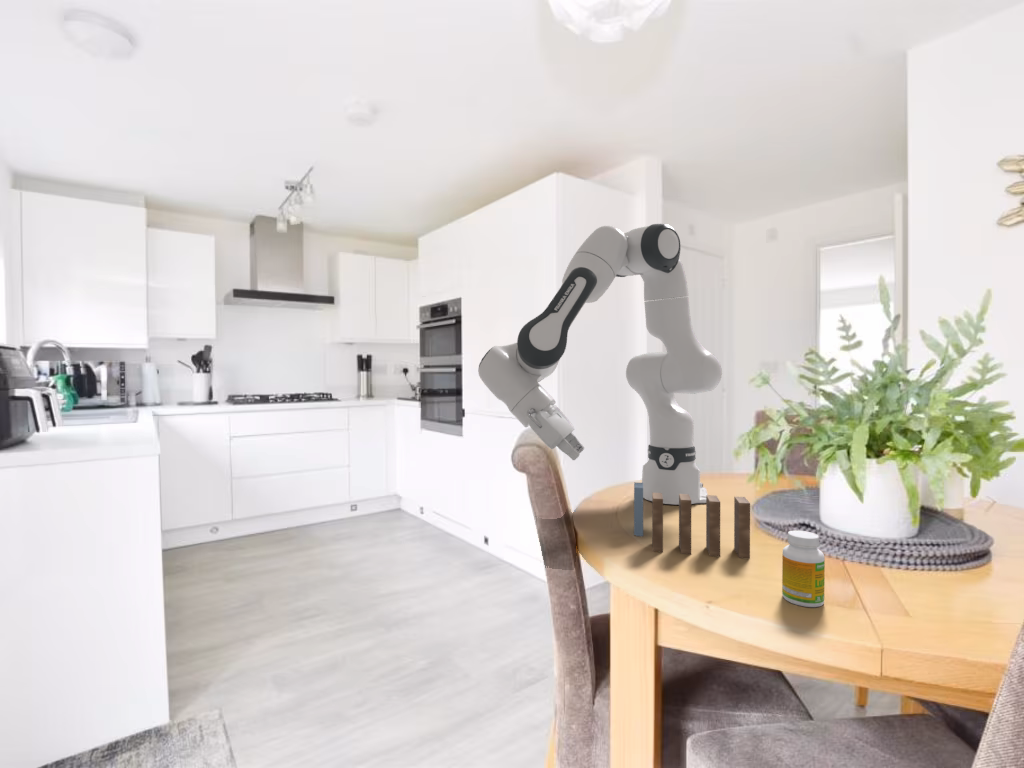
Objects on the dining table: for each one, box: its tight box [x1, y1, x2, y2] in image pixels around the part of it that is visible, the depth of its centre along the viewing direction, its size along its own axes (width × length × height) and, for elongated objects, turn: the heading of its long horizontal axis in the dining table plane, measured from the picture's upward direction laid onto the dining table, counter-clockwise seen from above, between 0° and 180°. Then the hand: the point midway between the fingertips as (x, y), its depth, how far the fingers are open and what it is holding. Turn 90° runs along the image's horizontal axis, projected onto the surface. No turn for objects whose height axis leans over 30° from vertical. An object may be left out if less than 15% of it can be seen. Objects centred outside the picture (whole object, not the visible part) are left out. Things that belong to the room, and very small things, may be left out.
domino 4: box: [705, 494, 721, 557], centre depth 97 cm, size 2×5×10 cm, turn 166°
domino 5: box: [733, 495, 751, 560], centre depth 96 cm, size 2×5×10 cm, turn 166°
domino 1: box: [633, 482, 644, 537], centre depth 109 cm, size 2×5×10 cm, turn 167°
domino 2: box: [651, 493, 664, 553], centre depth 99 cm, size 2×5×10 cm, turn 166°
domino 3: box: [678, 494, 692, 555], centre depth 98 cm, size 2×5×10 cm, turn 166°
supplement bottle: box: [781, 529, 826, 608], centre depth 76 cm, size 5×5×10 cm
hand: (579, 454), depth 112 cm, fingers open, 8 cm apart
